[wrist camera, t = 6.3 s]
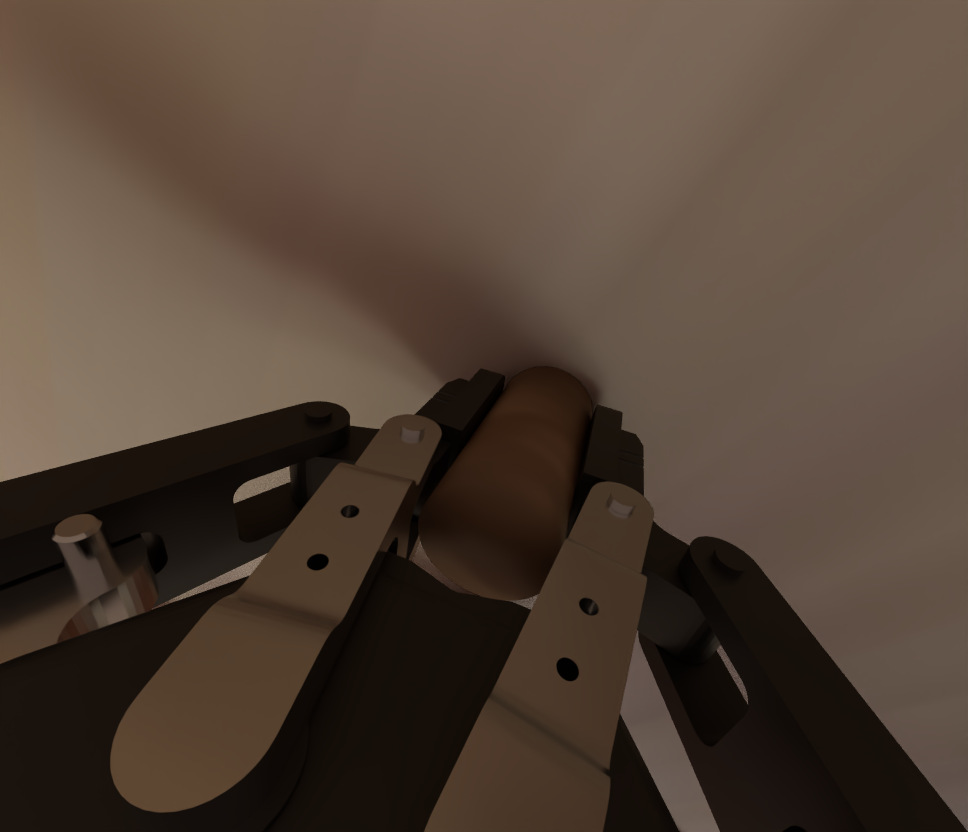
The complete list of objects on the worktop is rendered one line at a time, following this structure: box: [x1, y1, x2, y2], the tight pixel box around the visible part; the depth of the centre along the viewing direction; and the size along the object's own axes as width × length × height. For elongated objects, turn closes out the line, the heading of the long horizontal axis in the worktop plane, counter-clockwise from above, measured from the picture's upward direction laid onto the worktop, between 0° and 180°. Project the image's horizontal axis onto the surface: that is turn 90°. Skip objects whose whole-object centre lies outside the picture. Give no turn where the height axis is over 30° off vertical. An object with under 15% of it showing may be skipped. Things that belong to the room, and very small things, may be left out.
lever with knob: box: [418, 367, 592, 601], centre depth 14 cm, size 5×16×6 cm, turn 169°
